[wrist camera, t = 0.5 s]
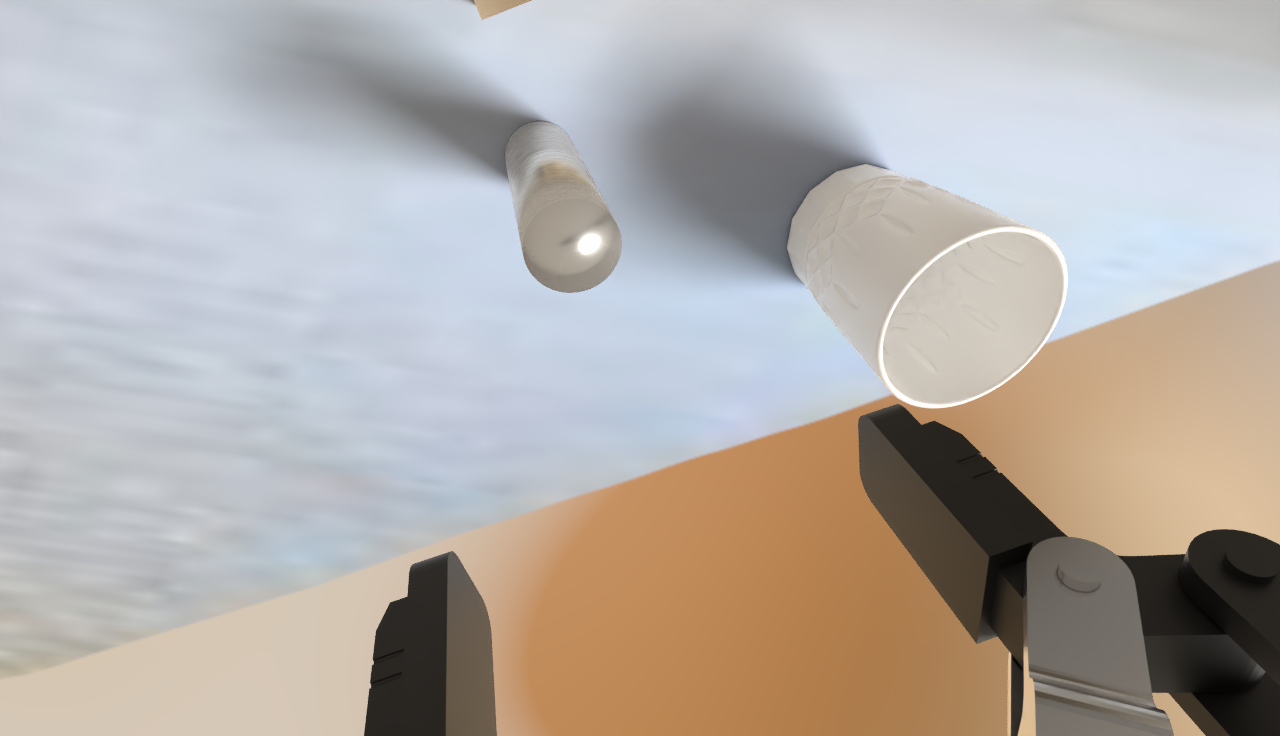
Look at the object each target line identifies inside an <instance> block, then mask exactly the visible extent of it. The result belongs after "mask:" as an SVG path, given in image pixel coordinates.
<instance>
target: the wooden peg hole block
mask: <svg viewBox="0 0 1280 736" xmlns="http://www.w3.org/2000/svg"><path fill="white" fill-rule="evenodd" d="M528 1H531V0H474V2H475V5H476V7H477V9H478V12H479V14H480V17H481V19H482V20H483V19H486V18H488V17H491V16H493V15H496V14H498V13H501V12H503V11H506V10H508V9H511V8H513V7H516V6H518V5H521V4H523V3H526V2H528Z"/></svg>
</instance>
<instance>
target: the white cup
mask: <svg viewBox="0 0 1280 736" xmlns="http://www.w3.org/2000/svg"><path fill="white" fill-rule="evenodd" d="M787 250H788V253H789V257H790V260H791V263H792V267H793V270H794V273H795V274H796V276H797V277H798V278H799V279H800V280H801V281H802V282H803V284H804V285H805V286H806V287H807V288H808V289H809V290H810V292H811V293H812V294H813V296H814V298H815V299H816V301H817V303H818V304H819V306H820V307H821V308H822V310H823V311H824V312H825V313H826V315H827V316H828V317H829V318H830V319H831V321H832V322H833V323H834V325H835V326H836V327H837V329H838V330H839V331H840V333H841V334H842V335H843V336H844V338H845V339H846V340H847V341H848V342H849V343H850V345H851V346H852V347H853V348H854V349H855V350H856V352H857V353H858V354H859V355H860V356H861V357H862V359H863V360H864V361H865V362H866V363H867V365H868V366H869V367H870V368H871V369H872V370H873V372H874V373H875V374H876V375H877V376H878V378H879V379H880V380H881V381H882V382H883V384H884V385H885V386H886V387H887V389H888V390H889V391H890V392H891V393H892V394H893V395H894V396H896V397H897V398H898V399H900V400H902V401H904V402H906V403H908V404H911V405H914V406H918V407H923V408H944V407H951V406H955V405H959V404H963V403H966V402H969V401H972V400H974V399H977V398H979V397H981V396H983V395H985V394H987V393H989V392H991V391H993V390H994V389H996V388H998V387H999V386H1001V385H1002V384H1004V383H1005V382H1006V381H1008V380H1009V379H1010V378H1012V377H1013V376H1014V375H1016V374H1017V373H1018V372H1019V371H1020V370H1021V369H1022V368H1023V367H1024V366H1026V364H1028V363H1029V361H1030V360H1031V359H1032V358H1033V357H1034V356H1035V355H1036V354H1037V352H1038V351H1039V350H1040V349H1041V348H1042V346H1043V345H1044V343H1045V342H1046V341H1047V339H1048V338H1049V336H1050V334H1051V333H1052V331H1053V329H1054V327H1055V326H1056V324H1057V322H1058V319H1059V317H1060V315H1061V312H1062V309H1063V306H1064V303H1065V299H1066V294H1067V287H1068V273H1067V266H1066V262H1065V259H1064V256H1063V254H1062V252H1061V250H1060V249H1059V247H1058V246H1057V245H1056V243H1055V242H1054V241H1053V240H1052V239H1051V238H1049V237H1048V236H1047V235H1045V234H1044V233H1042V232H1040V231H1038V230H1036V229H1033V228H1031V227H1029V226H1026V225H1024V224H1022V223H1020V222H1017V221H1015V220H1013V219H1010V218H1008V217H1006V216H1003V215H1001V214H999V213H997V212H994V211H992V210H990V209H988V208H985V207H983V206H981V205H979V204H976V203H974V202H972V201H970V200H967V199H965V198H963V197H960V196H958V195H954V194H952V193H950V192H947V191H945V190H942V189H940V188H937V187H935V186H932V185H930V184H927V183H925V182H922V181H920V180H917V179H914V178H907V177H905V176H903V175H901V174H899V173H897V172H894V171H892V170H888V169H884V168H880V167H876V166H872V165H868V164H863V165H859V166H855V167H851V168H847V169H843V170H840V171H836V172H834V173H833V174H832V175H831V176H829V177H828V178H827V179H825V180H824V181H823V182H821V183H820V184H819V185H817V186H816V187H815V188H813V189H812V190H811V191H810V192H809V193H808V195H807V196H806V198H805V199H804V201H803V202H802V204H801V206H800V207H799V209H798V210H797V212H796V214H795V215H794V217H793V218H792V222H791V228H790V234H789V239H788V245H787Z"/></svg>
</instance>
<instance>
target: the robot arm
mask: <svg viewBox="0 0 1280 736" xmlns="http://www.w3.org/2000/svg"><path fill="white" fill-rule="evenodd" d="M858 430H859V462H860V475H861V480H862V483H863V486H864V489H865V491H866V493H867V495H868V497H869V498H870V500H871V502H872V503H873V505H874V506H875V507H876V509H877V510H878V511H879V513H880V514H881V515H882V517H883V518H884V519H885V521H886V522H887V524H888V525H889V526H890V528H891V529H892V530H893V532H894V533H895V534H896V536H897V537H898V538H899V540H900V541H901V542H902V543H903V545H904V546H905V548H906V549H907V550H908V552H909V553H910V554H911V556H912V557H913V558H914V560H915V561H916V563H917V564H918V565H919V567H920V568H921V569H922V571H923V572H924V573H925V575H926V576H927V577H928V579H929V580H930V581H931V583H932V584H933V585H934V587H935V588H936V589H937V591H938V592H939V594H940V595H941V596H942V598H943V599H944V600H945V602H946V603H947V604H948V606H949V607H950V608H951V610H952V611H953V612H954V614H955V615H956V616H957V618H958V619H959V620H960V622H961V623H962V625H963V626H964V627H965V629H966V630H967V631H968V632H969V634H970V635H971V637H972V638H973V639H974V641H975V642H976V643H977V644H978V643H981V642H983V641H986V640H989V639H992V638H994V637H997V636H998V637H999V639H1000V640H1001V641H1002V642H1003V644H1004V645H1005V646H1006V648H1007V649H1008V650H1009V656H1008V734H1007V736H1174V734H1173V730H1172V726H1171V723H1170V720H1169V718H1168V716H1167V714H1166V713H1165V711H1163V710H1160V709H1157V708H1156V706H1155V704H1154V700H1153V696H1152V693H1155V692H1156V693H1169V694H1170V695H1171V696H1172V697H1173V699H1174V700H1175V701H1176V702H1177V703H1178V704H1179V705H1180V706H1181V708H1182V709H1183V710H1184V711H1185V712H1186V713H1187V714H1188V716H1189V717H1190V718H1191V719H1192V720H1193V721H1194V723H1195V724H1196V725H1197V726H1198V727H1199V728H1200V729H1201V731H1202V732H1203V733H1204V734H1205V735H1206V736H1280V545H1279V544H1277V543H1275V542H1273V541H1271V540H1269V539H1267V538H1264V537H1261V536H1259V535H1256V534H1252V533H1248V532H1244V531H1237V530H1227V529H1223V530H1212V531H1207V532H1205V533H1202V534H1200V535H1198V536H1197V537H1195V538H1194V539H1193V541H1192V542H1191V543H1190V545H1189V548H1188V550H1187V552H1186V554H1181V555H1157V556H1156V555H1154V556H1118V555H1115V554H1114V553H1113V552H1112V551H1110V550H1108V549H1107V548H1105V547H1103V546H1101V545H1099V544H1097V543H1094V542H1091V541H1088V540H1085V539H1080V538H1074V537H1068V536H1067V535H1065V534H1064V533H1063V532H1062V531H1061V530H1060V529H1058V528H1057V527H1056V526H1055V525H1054V524H1053V523H1052V522H1051V521H1050V520H1049V519H1048V518H1047V517H1046V516H1045V515H1044V514H1043V513H1042V512H1041V511H1040V510H1039V509H1038V508H1037V507H1036V506H1035V505H1034V504H1033V503H1032V502H1031V501H1030V500H1029V499H1028V498H1027V497H1026V496H1025V495H1024V494H1023V493H1021V492H1020V491H1019V490H1018V489H1017V488H1016V487H1015V486H1014V485H1013V484H1012V483H1011V482H1010V481H1009V480H1008V479H1007V478H1006V477H1005V476H1004V475H1003V474H1002V473H998V471H997V468H996V467H995V466H994V465H993V464H992V463H991V462H990V461H989V460H988V459H987V458H986V457H982V456H981V453H980V452H979V451H978V450H977V449H976V448H975V447H974V446H973V445H972V444H971V443H970V442H969V441H968V440H967V439H966V438H965V437H964V436H963V435H962V434H960V433H958V432H956V431H954V430H952V429H950V428H948V427H946V426H944V425H942V424H940V423H938V422H936V421H932V422H929V423H927V424H924V425H921V424H920V423H919V422H918V421H917V420H916V419H915V418H914V417H913V416H912V415H911V414H910V413H909V412H908V411H907V410H906V409H905V408H904V407H903V406H901V405H899V404H896V405H893V406H890V407H887V408H884V409H881V410H878V411H875V412H872V413H869V414H866V415H863V416H861V417H860V418H859V423H858ZM491 638H492V637H491V627H490V621H489V616H488V612H487V609H486V606H485V603H484V601H483V599H482V597H481V595H480V594H479V592H478V590H477V589H476V587H475V585H474V583H473V582H472V580H471V578H470V577H469V575H468V573H467V572H466V570H465V568H464V567H463V565H462V563H461V561H460V560H459V558H458V556H457V555H456V554H455V553H454V552H453V551H451V552H448V553H445V554H442V555H439V556H436V557H433V558H430V559H427V560H424V561H421V562H418V563H415V564H413V565H412V566H411V568H410V572H409V585H408V597H405V598H402V599H400V600H397V601H393V602H391V603H390V604H389V606H388V608H387V610H386V612H385V614H384V616H383V618H382V620H381V622H380V624H379V626H378V628H377V630H376V636H375V645H374V654H373V661H374V665H372V672H371V680H370V683H371V689H369V697H368V707H367V715H366V724H365V733H364V736H497V732H496V715H495V694H494V675H493V657H492V639H491Z"/></svg>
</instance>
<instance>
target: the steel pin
mask: <svg viewBox="0 0 1280 736" xmlns="http://www.w3.org/2000/svg"><path fill="white" fill-rule="evenodd" d="M505 162H506V168H507V173H508V178H509V183H510V189H511V194H512V199H513V204H514V209H515V215H516V220H517V225H518V230H519V236H520V241H521V246H522V251H523V256H524V260H525V263H526V266H527V268H528V269H529V271H530V273H531V274H532V275H533V276H534V277H535V278H536V279H537V280H538V281H539V282H540V283H541V284H543V285H544V286H546V287H548V288H550V289H553V290H556V291H559V292H567V293H573V292H581V291H585V290H588V289H591V288H593V287H595V286H597V285H598V284H600V283H601V282H603V281H604V280H605V279H606V278H607V277H608V276H609V275H610V274H611V273H612V271H613V270H614V268H615V267H616V265H617V263H618V260H619V257H620V254H621V235H620V231H619V228H618V226H617V224H616V222H615V220H614V218H613V216H612V214H611V213H610V211H609V209H608V207H607V205H606V203H605V202H604V200H603V198H602V196H601V194H600V192H599V190H598V189H597V187H596V185H595V183H594V181H593V179H592V177H591V176H590V174H589V172H588V170H587V168H586V166H585V165H584V163H583V161H582V159H581V157H580V155H579V153H578V152H577V150H576V148H575V146H574V144H573V142H572V140H571V139H570V137H569V136H568V135H567V133H566V132H565V131H564V130H562V129H561V128H560V127H558V126H556V125H554V124H552V123H549V122H543V121H536V122H531V123H528V124H525V125H523V126H521V127H520V128H518V129H517V130H516V131H515V132H514V133H513V134H512V136H511V137H510V139H509V141H508V143H507V146H506V151H505Z"/></svg>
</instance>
